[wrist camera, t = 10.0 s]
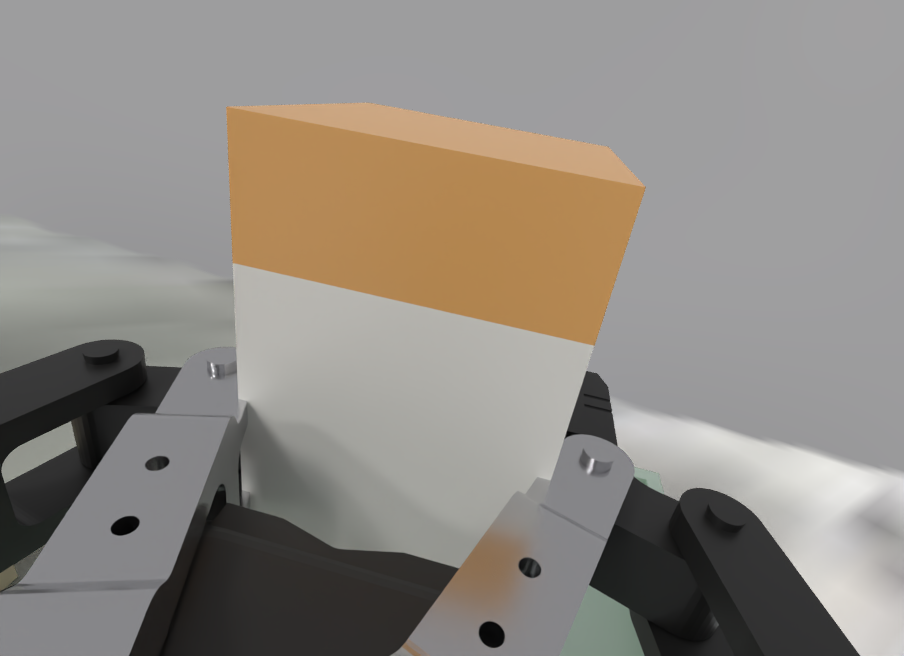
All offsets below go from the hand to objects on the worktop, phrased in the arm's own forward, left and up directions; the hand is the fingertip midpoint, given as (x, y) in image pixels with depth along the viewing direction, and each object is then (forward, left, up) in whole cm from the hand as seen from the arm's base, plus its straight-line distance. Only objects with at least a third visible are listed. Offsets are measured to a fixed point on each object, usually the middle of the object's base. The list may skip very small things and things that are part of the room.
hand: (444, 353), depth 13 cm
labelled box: (0, -3, -6) cm, 7 cm away
